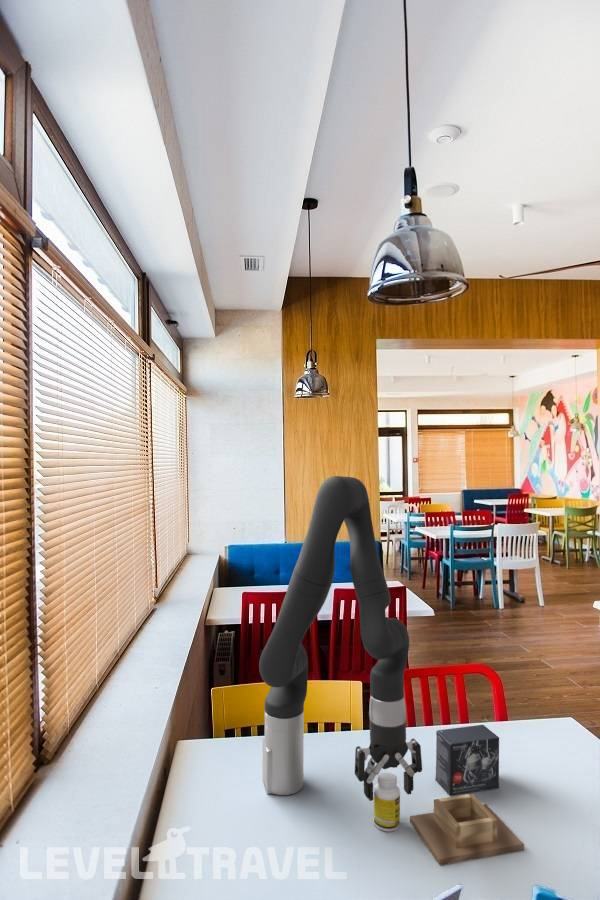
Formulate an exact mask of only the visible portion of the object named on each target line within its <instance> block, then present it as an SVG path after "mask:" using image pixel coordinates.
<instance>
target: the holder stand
mask: <svg viewBox="0 0 600 900" xmlns="http://www.w3.org/2000/svg"><path fill="white" fill-rule="evenodd" d="M409 822H410V825H411V826H412V827H413V829H414V830H415V832H416V833H417V835H418V836H419V838H420V839H421V840H422V842H423V844H424V845H425V847H426V848H427V849H428V850H429V852H430V853H431V855H432V857H433V858H434V860H435V861H436V862H437V864H438V866H444V865H449V864H451V865H452V864H455V863H461V862H466V861H471V860H478V859H482V858H487V857H489V858H490V857H493V856H499V855H505V854H509V853H510V854H511V853H514V852H515V853H516V852H520V851H524V847H525V845H524V842H523V841H521V839H520V838H519V837H518V836H517V835H516V834H515V833H514V832H513V831H512V830H511V829H510V828H509V827H508V826H507V824H506V823H505V822H504V821H503V820H502V819H501V818H500V817H499V816H498V815H497V813H495V812H494V810H492V809H491V808H490V806H489V805H488V804H486V803H484V804H483V803H482V802H481V801H480V800H479V799H478V797H476V796H475V794H474V793H466V794H460V795H454V796H448V797H440V798H436V799H435V798H434V799H433V812H427V813H421V814H416V815H410V816H409Z"/></svg>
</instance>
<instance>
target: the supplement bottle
mask: <svg viewBox="0 0 600 900" xmlns="http://www.w3.org/2000/svg"><path fill="white" fill-rule="evenodd" d="M397 778H398V777H397V775H396V774H395V773H393V772H390V771H382V772H381V771H380V772H379V774H378V775H377V783H376V784H375V785H374V787H373V824H374V826H375V827H376V828H377V829H378V830H380V831H384V832H395V831H396V830H398V829H399V827H400V822H401V817H400V815H401V791H400V788H399V787H398V785H397V783H398V782H397V780H398V779H397Z"/></svg>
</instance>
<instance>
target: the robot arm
mask: <svg viewBox="0 0 600 900" xmlns="http://www.w3.org/2000/svg"><path fill="white" fill-rule="evenodd" d="M343 522H344V524H345V526H346V530H347V533H348V537H349V538H348V539H349V547H350V549H349V550H350V556H349V557H350V558H349V560H350V565H349V567H350V576H351V581H352V585H353V588H354V592H355V596H356V598H357V601H358V605H359V623H360V625H359V626H360V637H361V641H362V645H363V647H364V650H365V651H366V652H367V653H368V654H369V656H371V657H372V658H373V659H376V660H377V662H376V663H375V665H374V666H373V667H372V668H371V670H370V673H369V674H370V675H369V676H370V677H369V682H370V683H369V685H370V691H369V692H370V698H369V711H368V717H369V741H370V742H369V746H368V747H367V748H365V747H364V748H362V747H361V746H360V745H358V746H356V747H355V751H354V753H355V757H354V759H355V760H354V776H355V777H356V778H357V780H358V781H359V782H361V783H362V782H363V793H364V795H365V797H366V799H368V801H369V802H371V801H372V802H374V783H373V781H374V780H375V777H376V776H378V774H379V773H381V770H382V769H383V770H387V769H389V768H393V769H394V768H398V767H399V766H401V767H402V768H403V769H404V772H403V789H404V792H405V793H406V794H407V795H412V792H413V791H414V785H415V783H414V776H415V774H417V773H421V772H422V771H423V764H422V763H423V761H422V749H421V744H420V743H419V742H418V741H417V740H416V739H415V738H411V739H410V741H407V727H406V726H407V722H406V721H407V720H406V718H407V716H406V714H407V713H406V702H405V687H404V685H405V684H404V682H405V681H404V675H405V670H406V666H407V661H408V655H409V650H410V635H409V631H408V629H407V627H406V625H405V624H404V623H403V622H402V621H401V620H400V619H398V618H395V617H392V618H387V617H386V609H387V608H388V607H389V606H390V604H391V601H392V598H391V597H392V596H391V593H390V590H389V586H388V584H387V580H386V577H385V573H384V571H383V568H382V564H381V560H380V556H379V551H378V547H377V542H376V538H375V531H374V526H373V521H372V514H371V506H370V498H369V494H368V490H367V488H366V486H365V484H364V483H363V481H361V480H360V479H358V478H356V477H351V476H343V475H342V476H340V475H339V476H338V475H333V476H330V477H328V478H325V480H324V481H323V482H322V483H321V485H320V486H319V488H318V490H317V493H316V496H315V501H314V505H313V509H312V513H311V518H310V521H309V525H308V529H307V532H306V536H305V538H304V541H303V544H302V546H301V549H300V552H299V555H298V559H297V560H296V563H295V566H294V568H293V571H292V574H291V577H290V580H289V583H288V586H287V590H286V593H285V595H284V598H283V601H282V603H281V607H280V609H279V610H280V611H279V614H278V617H277V619H276V622H275V624H274V627H273V628H272V631H271V634H270V636H269V637H268V640H267V642H266V644H265V646H264V648H263V649H262V653H261V654H260V657H259V663H258V668H259V669H258V670H259V674H260V677H261V679H262V680H263V682H264V683H265V684H266V685H267V686H269V687H270V688H269V691H268V692H267V694H266V696H265V700H264V738H263V739H262V782H263V786H264V788H265V792H266V794H267V795H268V794H274V795H276V796H277V795H278V796H289V795H293V794H296V793H298V792H299V791H301V790H302V788H303V787H304V778H305V776H304V775H305V774H304V770H305V769H304V766H305V765H304V760H305V759H304V752H305V751H304V748H305V747H304V739H305V738H304V737H305V736H304V734H305V733H304V731H305V729H304V723H305V721H304V719H305V715H304V714H305V713H304V712H305V711H304V709H305V708H304V707H305V706H304V705H305V702H306V698H307V694H308V693H307V692H308V677H309V675H308V674H309V673H308V671H309V661H308V654H307V651H306V649H305V647H304V645H303V644H302V642H303V639H304V637H305V635H306V634H307V632H308V630H309V628H310V627H311V625H312V624H313V622H314V621H315V619H316V618H317V616H318V615H319V613H320V611H321V610H322V608H323V606H324V604H325V602H326V600H327V598H328V595H329V592H330V589H331V587H332V584H333V581H334V579H335V578H334V577H335V573H336V572H335V571H336V559H335V558H336V557H335V556H336V555H335V549H336V548H335V547H336V543H337V542H336V541H337V538H338V535H339V534H340V529H341V527H342V525H343ZM406 741H407V742H406ZM408 750H409V752H410V755H411V764H409V763H408V762H407V761H406V759H405V758H404V757H405V756H406V754H407V753H408ZM368 756H370V757H371V758H370V759H369V761H368V762H367V766H366V768H365V765H366V761H367V759H368Z"/></svg>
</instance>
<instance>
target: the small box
mask: <svg viewBox="0 0 600 900" xmlns="http://www.w3.org/2000/svg"><path fill="white" fill-rule="evenodd" d="M435 734H436V744H435V745H436V749H435V752H436V756H435V757H436V759H435V777H434V778H435V779H434V780H435V781H436V782H437V784H439V786H440V787H441V788H442V789H443V791H445V792H446V793H447V795H449V796H448V797H453V796H460V795H466V794H473V793H476V792H477V793H478V792H483V791H488V790H495V789H499V787H500V781H499V780H500V737H499V736H498V735H497V734H496V733H495V732H493V731H492V730H490V729H489V728H488V727H487V726H485V725H484V724H478V725H469V726H461V727H453V728H446V729H439V730H437V729H436V731H435Z"/></svg>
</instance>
